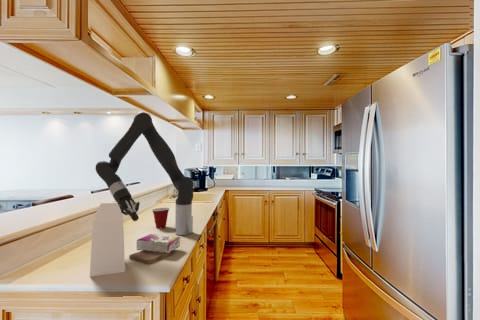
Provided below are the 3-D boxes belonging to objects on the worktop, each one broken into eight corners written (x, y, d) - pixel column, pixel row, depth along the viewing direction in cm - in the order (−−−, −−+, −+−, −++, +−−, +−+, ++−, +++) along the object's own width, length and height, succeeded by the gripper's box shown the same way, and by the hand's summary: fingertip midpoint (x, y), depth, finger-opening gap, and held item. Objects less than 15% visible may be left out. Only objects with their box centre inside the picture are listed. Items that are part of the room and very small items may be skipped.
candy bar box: (150, 233, 136) (180, 236, 132) (150, 243, 136) (180, 246, 132) (136, 239, 125) (168, 242, 121) (136, 250, 125) (168, 254, 121)
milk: (89, 276, 100) (90, 205, 100) (92, 265, 111) (93, 201, 111) (125, 271, 105) (125, 203, 105) (124, 261, 116) (125, 199, 116)
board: (154, 249, 131) (154, 246, 131) (172, 254, 125) (172, 250, 125) (129, 258, 119) (129, 255, 119) (148, 264, 113) (148, 260, 113)
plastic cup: (158, 224, 180) (158, 206, 180) (172, 226, 177) (172, 207, 177) (147, 228, 170) (148, 209, 170) (162, 230, 167) (163, 210, 167)
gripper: (111, 188, 130) (128, 217, 124) (134, 186, 142) (151, 212, 136) (104, 199, 133) (120, 227, 127) (127, 196, 144) (143, 222, 138)
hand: (136, 219), depth 131 cm, fingers closed
